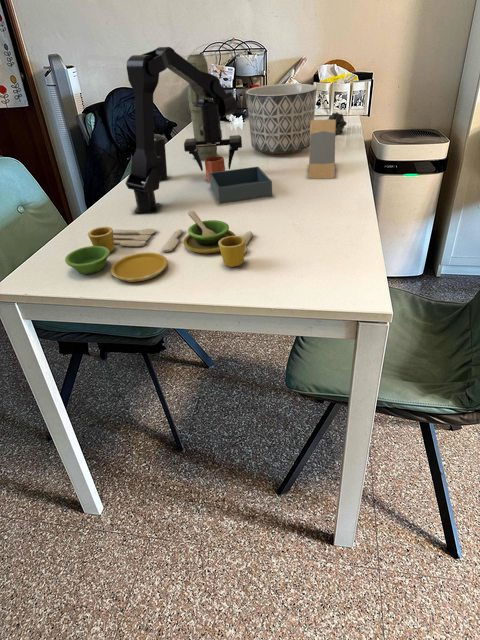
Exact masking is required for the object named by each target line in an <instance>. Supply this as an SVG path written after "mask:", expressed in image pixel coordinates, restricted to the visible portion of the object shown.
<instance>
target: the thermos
mask: <svg viewBox="0 0 480 640" xmlns="http://www.w3.org/2000/svg"><path fill="white" fill-rule="evenodd" d="M186 60H187V61H188V62H189V63H191V64H192V65H193V66H195V67H196V68H197V69H199V70H200V71H202V72H206V73H209V68H208V66H209V65H208V62H207V59H206V56H205V55H203V54H202V53H195V54H190V55H188V56H187V57H186ZM199 98H205V97H202V96H198V95H197V94H196V93H195V92H194V91H193V90H192V88H191V85H190V84H189V83H188V91H187V99H188V107H189V111H190V113H191V114H190V115H191V124H192V129H193V131H192V132H193V138H197V141H204V136H201V135H200V126H202V115H201V107H196V106H195V105H196V103H197V102H198V100H199ZM205 99H212V98H205ZM207 144H211V143H207ZM217 151H218V146H210V147H199V152H200V157H201V161H205V158H207V157H211V156H218V152H217Z"/></svg>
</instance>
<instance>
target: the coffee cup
mask: <svg viewBox="0 0 480 640" xmlns="http://www.w3.org/2000/svg"><path fill="white" fill-rule="evenodd" d="M204 167H205V175H206V180H207V181H209V182H210V176H209V173H213V172H221V171H226V165H225V157H224V156H222V155H217V156H211V157H207V158H205V160H204Z"/></svg>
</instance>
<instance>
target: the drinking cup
mask: <svg viewBox="0 0 480 640" xmlns="http://www.w3.org/2000/svg"><path fill="white" fill-rule="evenodd" d="M154 151H155V153H156V155H157V156H158V157H161V158H162V170H163V172H161V177H160V182H163V181H166V180H168V170H167V169H168V167H167V153H166V136H164V135H161V134H158V133H154Z"/></svg>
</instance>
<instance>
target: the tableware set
mask: <svg viewBox="0 0 480 640" xmlns="http://www.w3.org/2000/svg"><path fill="white" fill-rule="evenodd" d="M187 214H188V216H189V217H190V219H191V220H192V221H193V222H194V223H193V224H192V225H190V226H189V228H188V229H187V233H188V235H186V236H185V237H184V239H183V245H184V246H185V247H186V248H187V249H189V250H190V251H192V252H194V253H199V254H214V253H218V252H220V254H221V255H220V256H221V258H222V262H223V265H224V266H227V267H230V268H231V267H232V268H233V267H238V266H241V265H243V263H244V261H245V254H246V252H247V250H248V248H247V245H248V243H249V241H251V240H252V238H253V234H254V233H253V232H252V231H251V230H250V231H247V232H246V233H245V235H244V236H241V235H236V234H235V233H234V232H233V231H232V230H230V225H229V224H228V223H227V222H225V221H222V220H218V219H216V220H215V219H210V220H201V218H200V217H199V215H198V214H197V212H196V211H195V210H192V209H189V210H188V212H187ZM174 232H175V233H174V234H173V235H172V236H171V238H170V239H169V241H168V242H167V243H166V244H165V246H164V247H163V249H162V251H163V253H169V252H172V251H173V250H175V248H176V247H177V245H178V244H179V242H180V239H179V237H180V236H182V234H183V232H184V231H183V230H182V229H177V230H176V231H174ZM155 233H156V230H155V229H154V228H144V229H141V230H139V229H137V230H134V229H113V228H112V227H111V226H98V227H95V228H93V229H91V230H89V231H88V232H87V236H88V238H89V240H90V242H91V244H92V245H89V246H84V247H80V248H77V249H75V250H72V251H71V252H69V253H68V254H67V255H66V256H65V259H64V261H65V264H66V265H67V266H69V267H72V269H74V270H75V271H76V272H77V273H79V274H82V275H91V274H95V273H97V272H99V271H101V270H102V269H104V267H105V265H106V263H107V259H108V258H109V256H110V254H111V252H114V251H115V245H119V246H121V247H144V246H145V245H147V242H148V241H149V239H150V238H151V237H152V235H154V234H155ZM168 262H169V261H168V258H167V257H166V256H165V255H163V254H160V253H156V252H148V251H147V252H138V253H134V254H133V253H132V254H129V255H126V256H124V257H121V258H120V259H118V260H117V261H115V262H113V265H112V266H111V268H110V273H111V275H112V276H113V277H115V278H117V279H118V280H120V281H123V282H129V283H131V282H132V283H135V282H144V281H147V280H151V279H153V278H155V277H157V276H159V275H160V274H162V272H163V271H165V269H166V268H167V266H168Z"/></svg>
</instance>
